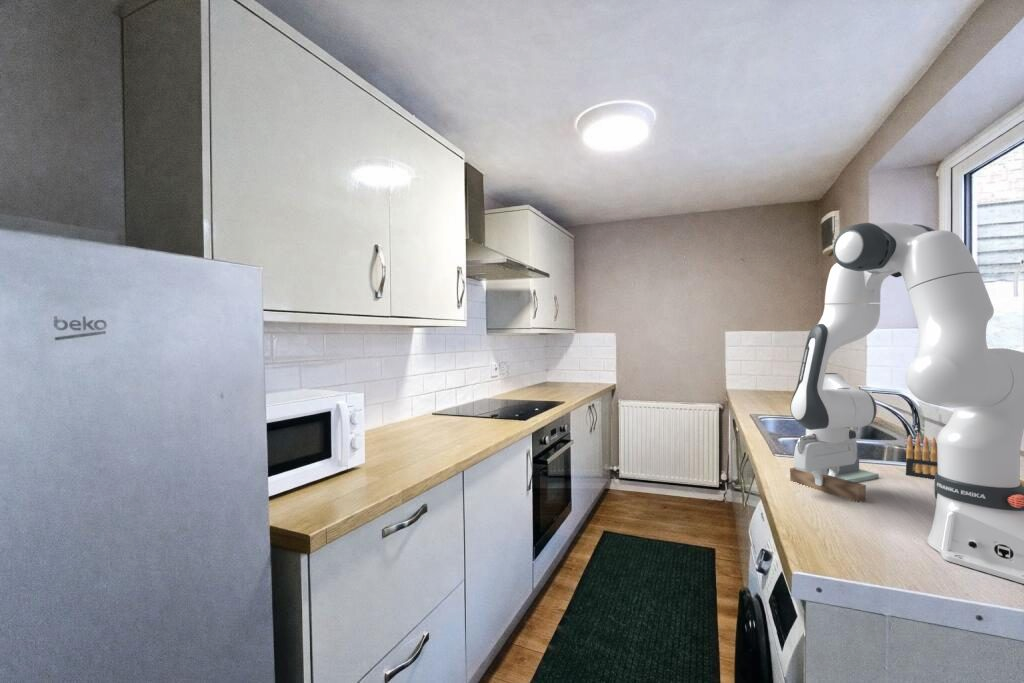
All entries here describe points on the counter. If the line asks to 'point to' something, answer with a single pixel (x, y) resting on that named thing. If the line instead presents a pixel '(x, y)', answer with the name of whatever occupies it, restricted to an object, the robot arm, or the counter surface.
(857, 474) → the ridge stand
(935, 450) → the ammunition clip
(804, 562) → the counter surface
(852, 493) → the walnut batten
